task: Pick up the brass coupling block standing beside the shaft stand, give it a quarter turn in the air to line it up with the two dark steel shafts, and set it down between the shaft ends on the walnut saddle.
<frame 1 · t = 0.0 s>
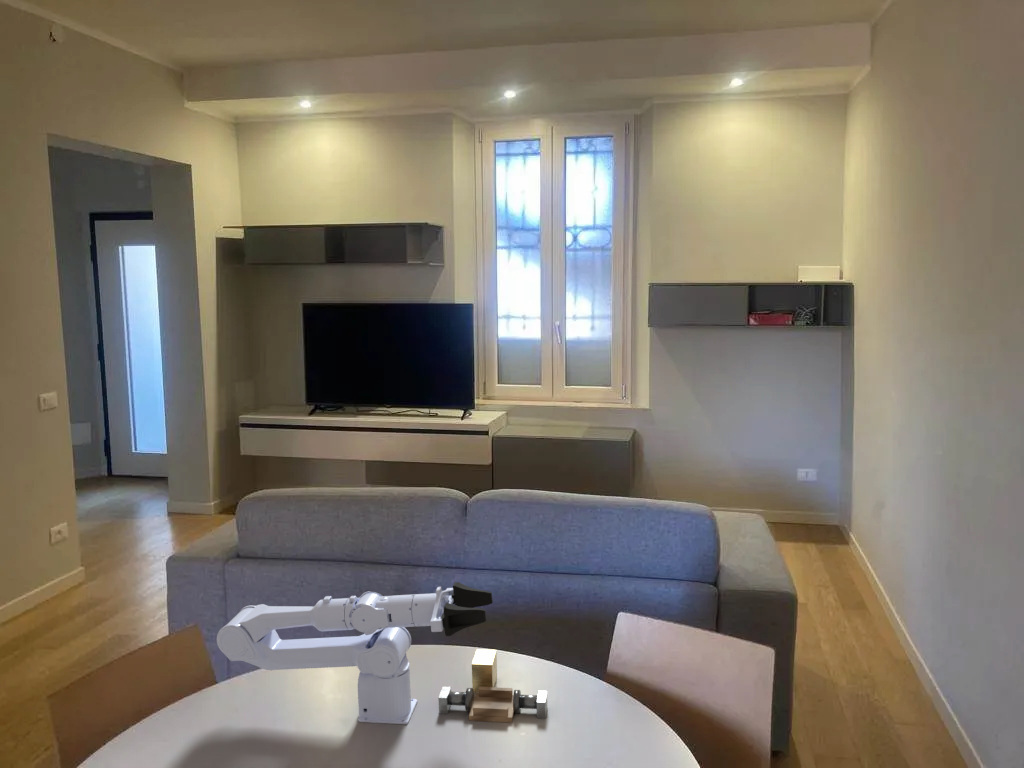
hand: (488, 606, 146), 22 cm above the table, tool horizontal, fingers open, 7 cm apart
coupling block: (485, 685, 160), on the table
shaft stand: (493, 710, 151), on the table
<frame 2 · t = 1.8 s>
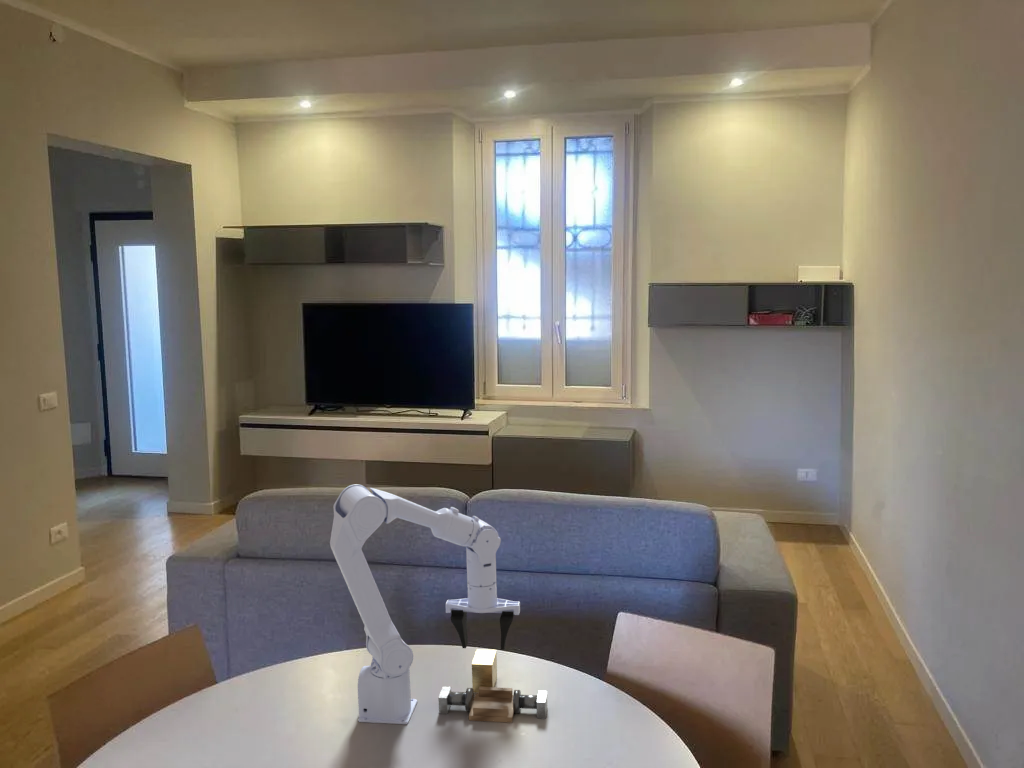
hand: (484, 646, 159), 8 cm above the table, tool pointing down, fingers open, 7 cm apart
nothing on the table moved.
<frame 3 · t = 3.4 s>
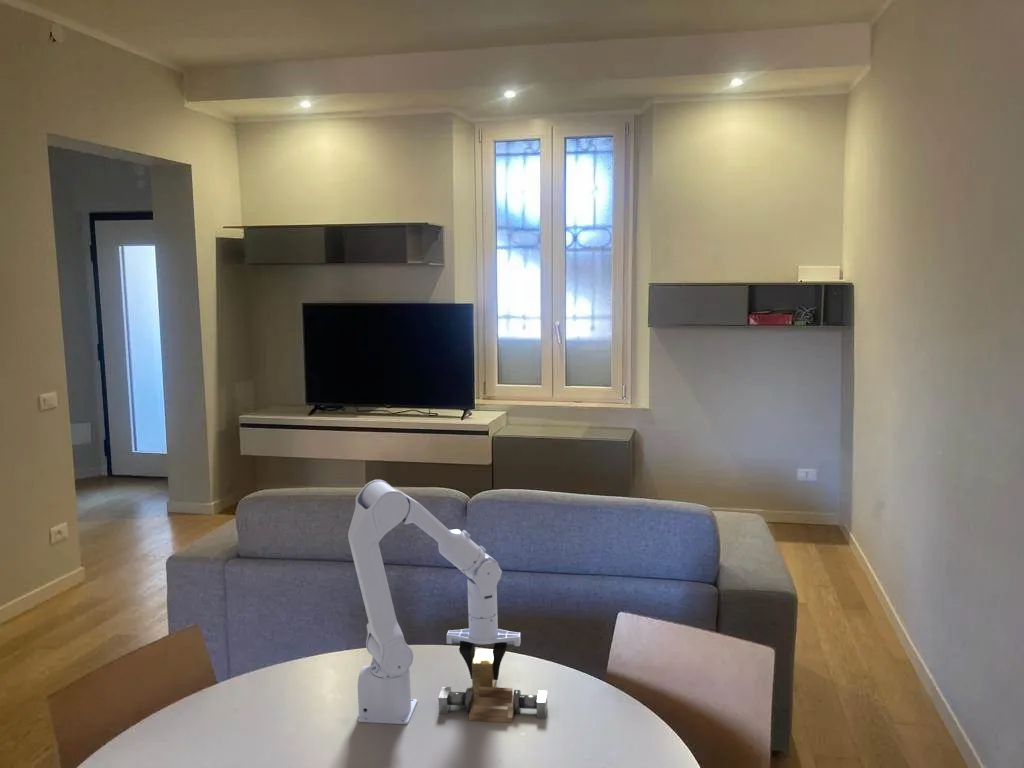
hand: (484, 677, 160), 2 cm above the table, tool pointing down, fingers closed on coupling block, 4 cm apart
coupling block: (485, 684, 160), on the table, touching gripper
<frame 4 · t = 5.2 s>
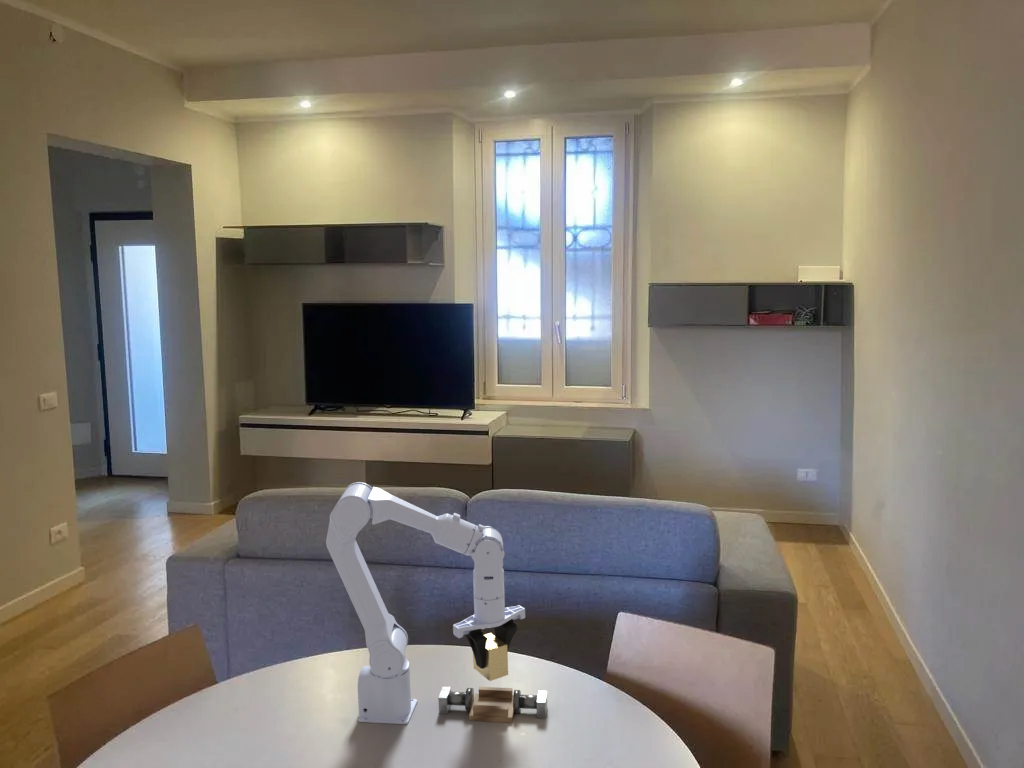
hand: (491, 662, 151), 9 cm above the table, tool pointing down, fingers closed on coupling block, 4 cm apart
coupling block: (490, 671, 151), point 7 cm above the table, touching gripper
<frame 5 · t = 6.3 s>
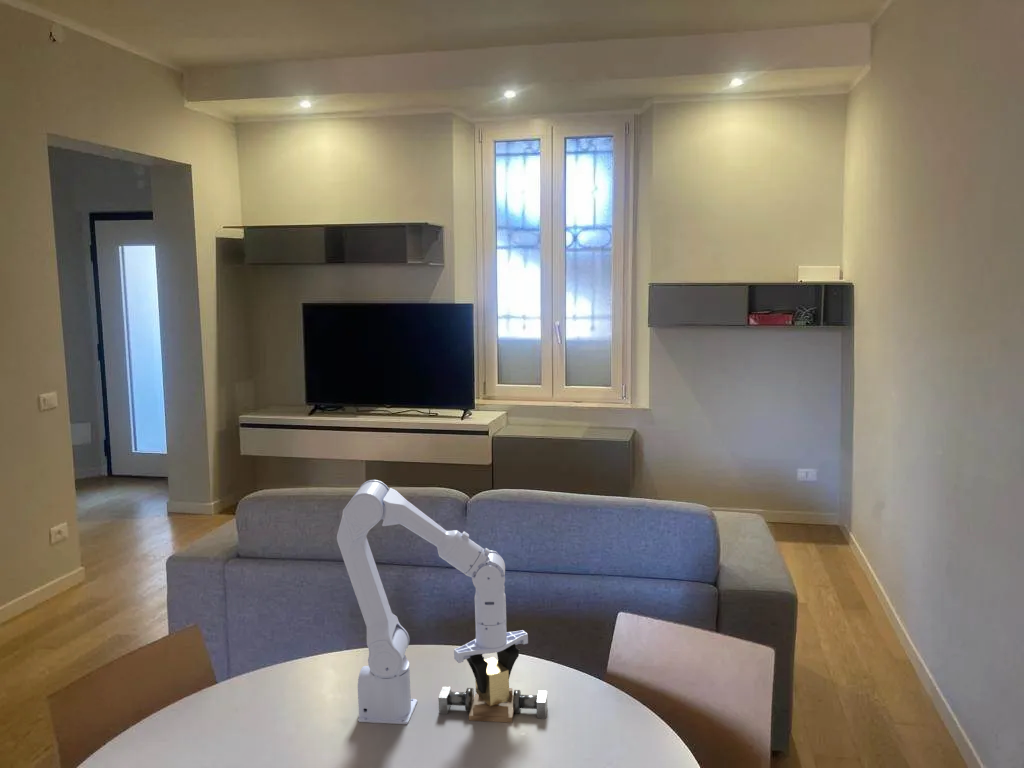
hand: (492, 687, 150), 5 cm above the table, tool pointing down, fingers closed on coupling block, 4 cm apart
coupling block: (492, 696, 151), point 3 cm above the table, touching gripper
when the fingers open (4 cm above the table, at t = 6.9 s): coupling block stays where it is, resting on shaft stand.
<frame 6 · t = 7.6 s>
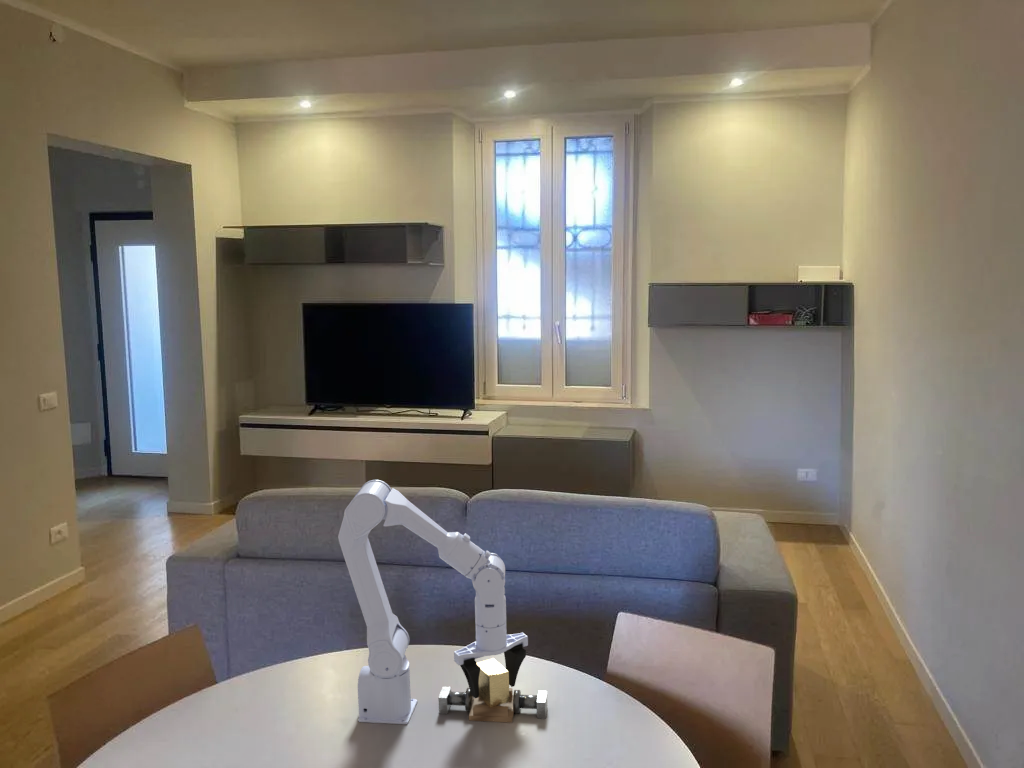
hand: (492, 689, 150), 4 cm above the table, tool pointing down, fingers open, 7 cm apart
coupling block: (492, 697, 151), point 2 cm above the table, touching shaft stand
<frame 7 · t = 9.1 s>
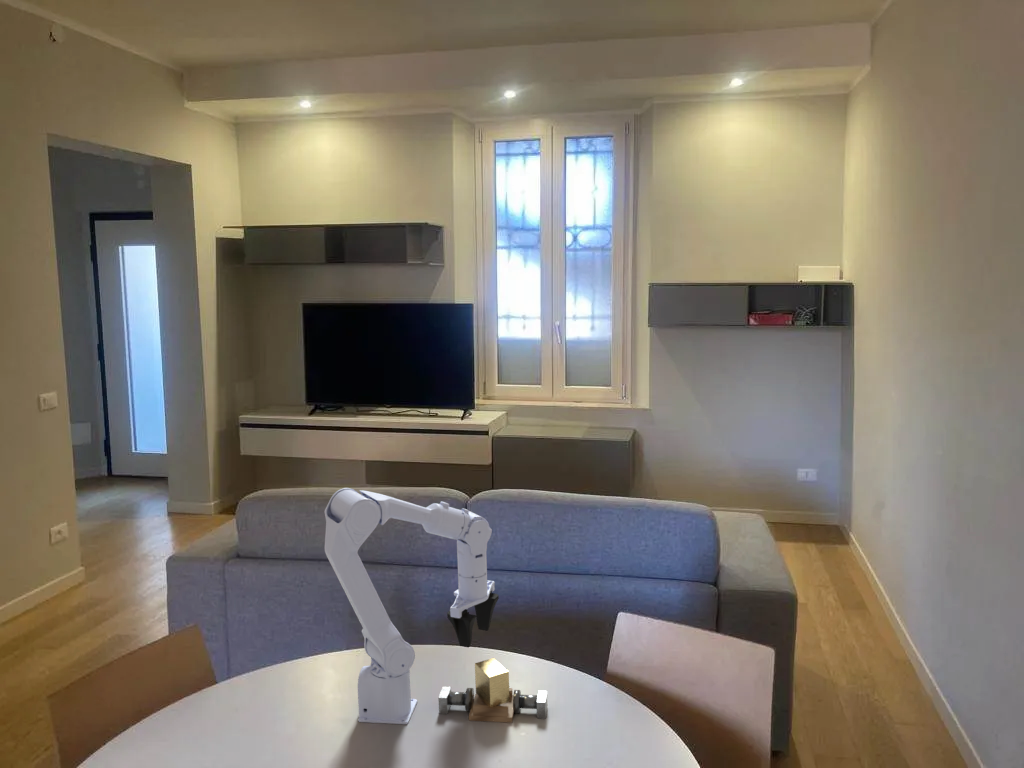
hand: (474, 637, 160), 9 cm above the table, tool pointing down, fingers open, 7 cm apart
nothing on the table moved.
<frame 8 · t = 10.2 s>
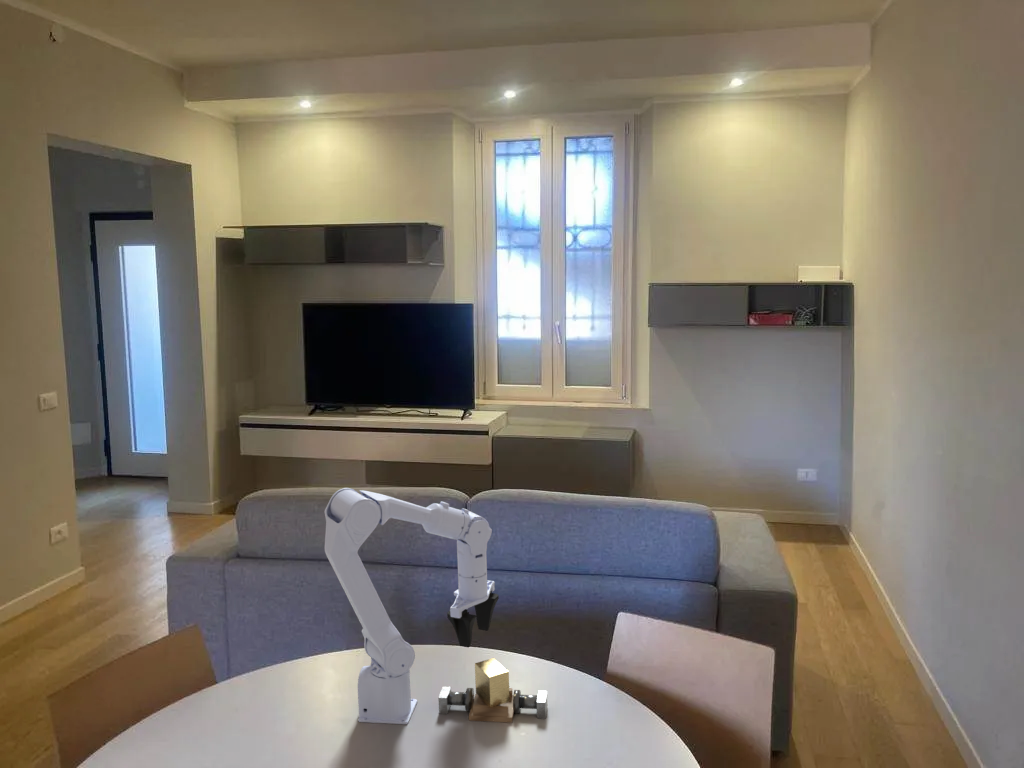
hand: (474, 637, 160), 9 cm above the table, tool pointing down, fingers open, 7 cm apart
nothing on the table moved.
at the end: coupling block 0.3 cm off-centre on the shaft stand, point 2.5 cm above the shaft stand's base; coupling block tilted 0°; the gripper is holding nothing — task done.
